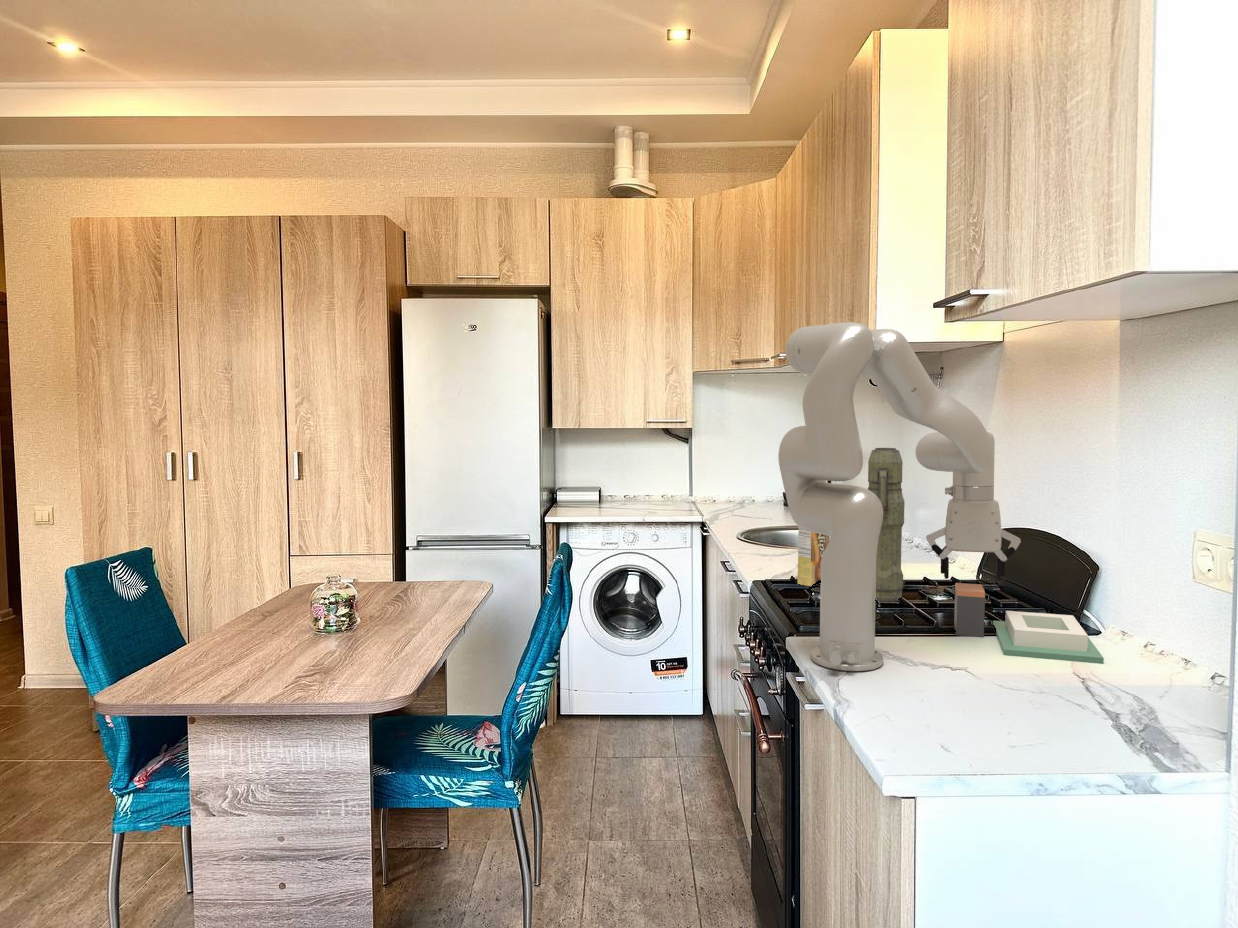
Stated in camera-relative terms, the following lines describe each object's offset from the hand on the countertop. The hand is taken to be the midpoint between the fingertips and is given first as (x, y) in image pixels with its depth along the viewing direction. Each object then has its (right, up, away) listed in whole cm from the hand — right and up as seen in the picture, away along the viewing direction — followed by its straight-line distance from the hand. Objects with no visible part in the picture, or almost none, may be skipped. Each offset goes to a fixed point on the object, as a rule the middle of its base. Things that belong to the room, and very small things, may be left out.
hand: (972, 578), depth 164 cm
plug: (0, -11, +1) cm, 11 cm away
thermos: (-9, -9, +29) cm, 31 cm away
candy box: (-21, -7, +44) cm, 49 cm away
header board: (+11, -11, -7) cm, 17 cm away
